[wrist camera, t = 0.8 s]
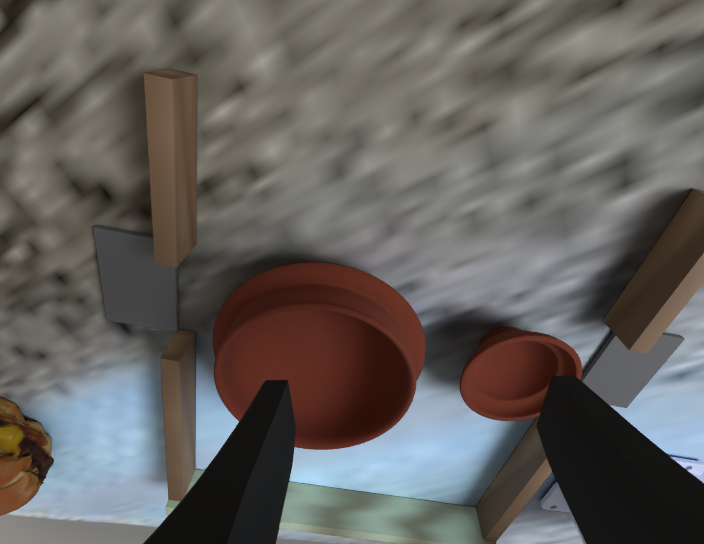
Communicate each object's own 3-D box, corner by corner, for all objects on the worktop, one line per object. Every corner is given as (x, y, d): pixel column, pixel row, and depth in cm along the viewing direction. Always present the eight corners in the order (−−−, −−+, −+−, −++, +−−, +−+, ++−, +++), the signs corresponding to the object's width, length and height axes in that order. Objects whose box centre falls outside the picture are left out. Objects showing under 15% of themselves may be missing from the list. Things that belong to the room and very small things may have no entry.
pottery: (214, 235, 20) (180, 279, 16) (591, 264, 20) (644, 314, 17) (232, 393, 26) (210, 452, 22) (524, 412, 26) (552, 474, 23)
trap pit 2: (681, 335, 23) (684, 339, 22) (623, 404, 26) (626, 407, 25) (618, 323, 22) (621, 327, 22) (567, 394, 25) (570, 398, 25)
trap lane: (711, 192, 18) (770, 217, 16) (482, 515, 33) (492, 555, 30) (172, 69, 16) (136, 74, 13) (182, 474, 30) (166, 514, 28)
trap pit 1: (176, 240, 20) (174, 242, 20) (179, 328, 23) (177, 332, 23) (96, 224, 20) (93, 227, 19) (109, 317, 23) (106, 320, 22)
